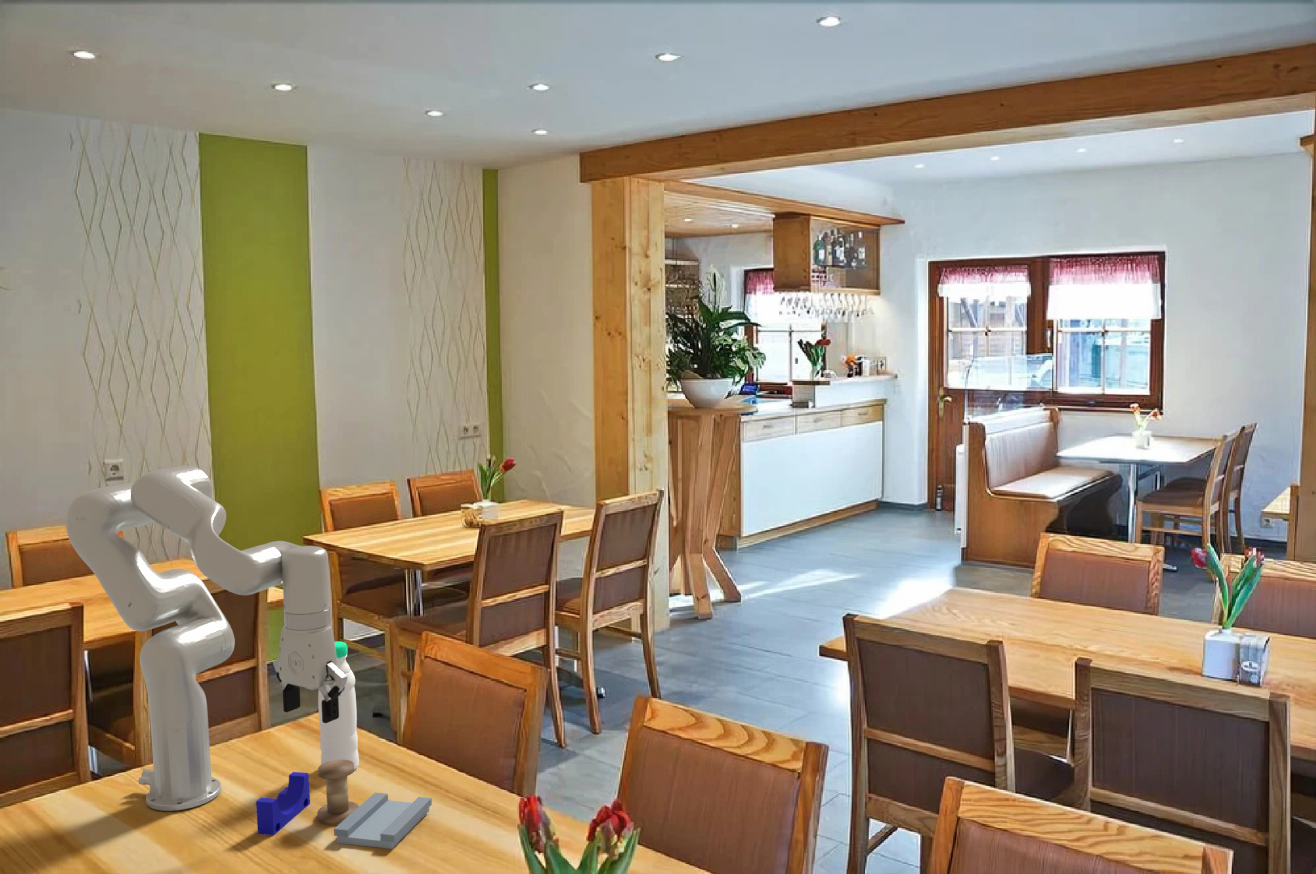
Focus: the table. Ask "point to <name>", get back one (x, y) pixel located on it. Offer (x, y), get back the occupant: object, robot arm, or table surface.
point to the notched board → (381, 821)
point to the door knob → (336, 791)
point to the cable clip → (283, 805)
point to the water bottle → (341, 718)
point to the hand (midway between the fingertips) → (311, 715)
